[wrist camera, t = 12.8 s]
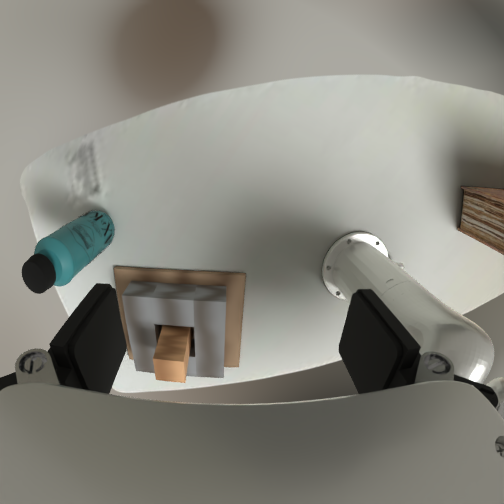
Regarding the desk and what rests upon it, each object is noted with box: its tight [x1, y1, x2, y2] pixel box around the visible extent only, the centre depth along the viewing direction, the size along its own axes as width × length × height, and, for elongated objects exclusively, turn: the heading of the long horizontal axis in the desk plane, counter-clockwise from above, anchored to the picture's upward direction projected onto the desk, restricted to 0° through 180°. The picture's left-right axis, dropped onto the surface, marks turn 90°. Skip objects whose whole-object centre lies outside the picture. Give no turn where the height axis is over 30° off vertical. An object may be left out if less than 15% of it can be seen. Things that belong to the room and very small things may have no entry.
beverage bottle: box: [22, 210, 114, 294], centre depth 32 cm, size 6×7×20 cm
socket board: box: [114, 266, 246, 378], centre depth 46 cm, size 22×20×6 cm
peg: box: [153, 325, 192, 383], centre depth 42 cm, size 4×4×12 cm
